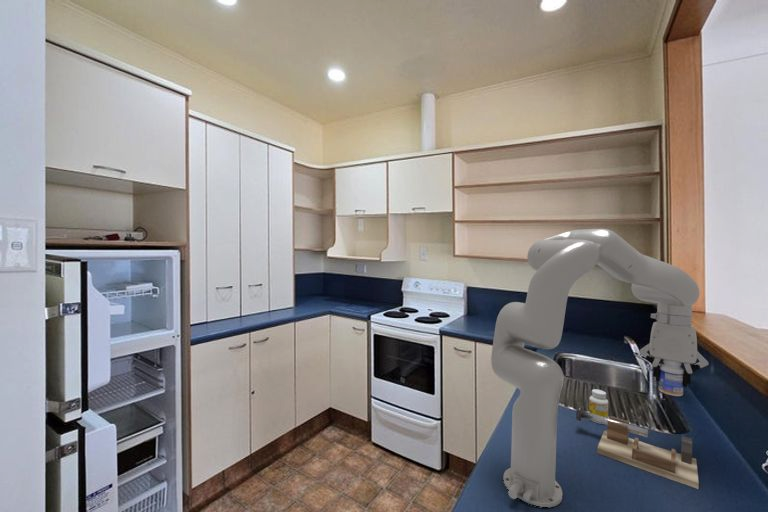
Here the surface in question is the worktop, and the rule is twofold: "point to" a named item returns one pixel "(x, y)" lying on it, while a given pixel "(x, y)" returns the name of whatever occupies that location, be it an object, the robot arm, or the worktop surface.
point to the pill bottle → (671, 378)
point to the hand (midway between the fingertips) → (671, 382)
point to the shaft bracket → (649, 454)
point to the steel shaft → (582, 414)
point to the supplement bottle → (598, 403)
